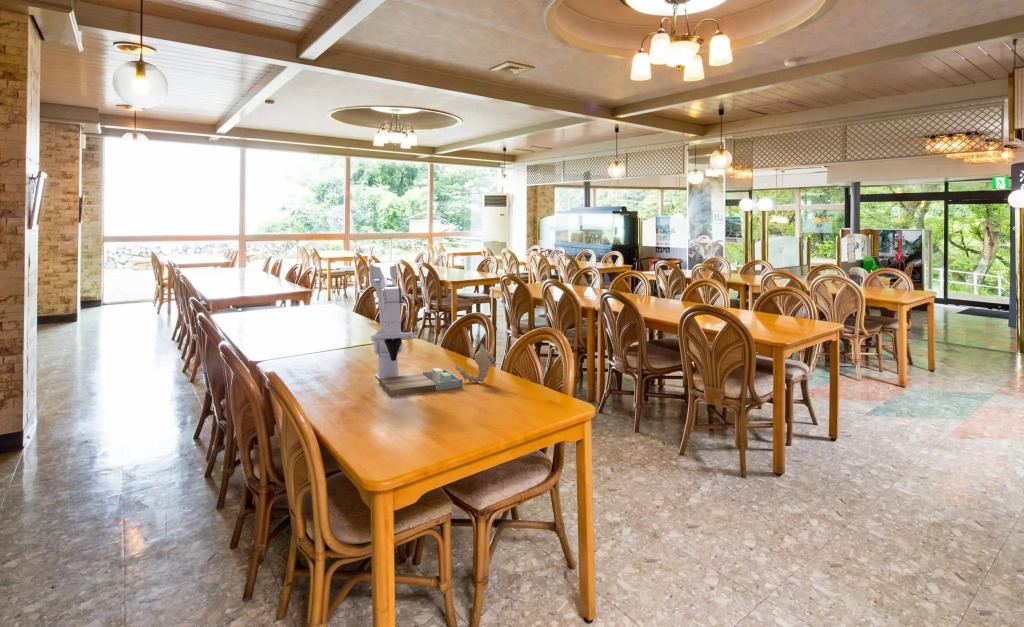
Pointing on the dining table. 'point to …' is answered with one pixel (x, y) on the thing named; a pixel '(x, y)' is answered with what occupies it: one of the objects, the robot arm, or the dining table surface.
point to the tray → (445, 385)
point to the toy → (483, 361)
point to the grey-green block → (445, 377)
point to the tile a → (436, 374)
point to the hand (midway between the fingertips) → (393, 360)
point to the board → (407, 385)
